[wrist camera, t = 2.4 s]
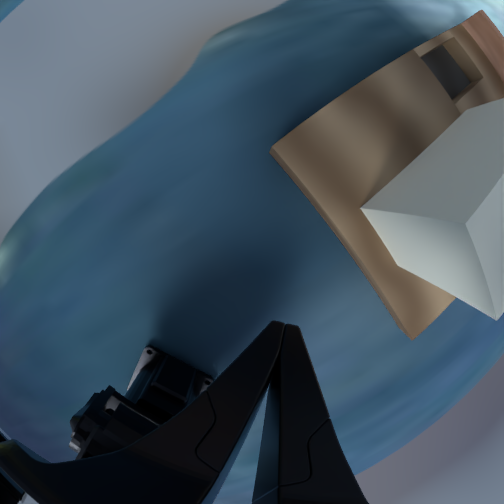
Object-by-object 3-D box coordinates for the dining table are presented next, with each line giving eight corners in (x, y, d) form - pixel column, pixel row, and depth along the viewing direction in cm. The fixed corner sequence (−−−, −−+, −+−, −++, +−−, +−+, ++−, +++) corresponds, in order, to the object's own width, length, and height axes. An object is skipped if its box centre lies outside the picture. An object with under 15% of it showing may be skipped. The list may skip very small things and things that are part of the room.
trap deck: (399, 327, 21) (433, 362, 15) (269, 152, 18) (276, 133, 13) (530, 166, 18) (565, 166, 12) (452, 30, 15) (482, 9, 9)
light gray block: (397, 265, 17) (496, 320, 8) (360, 208, 17) (465, 223, 7) (493, 160, 16) (578, 157, 6) (466, 109, 15) (551, 85, 5)
